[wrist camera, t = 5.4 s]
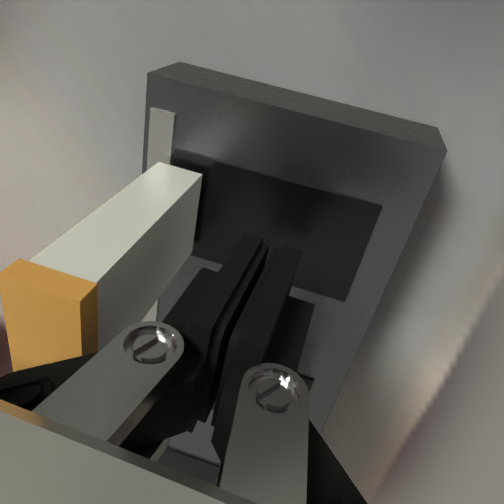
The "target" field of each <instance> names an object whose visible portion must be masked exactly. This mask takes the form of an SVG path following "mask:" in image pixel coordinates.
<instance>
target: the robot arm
mask: <svg viewBox="0 0 504 504" xmlns="http://www.w3.org/2000/svg"><path fill="white" fill-rule="evenodd" d="M263 241H264V238H261V237H258V236H255V235H252V234H249V233H244V234H243V235H242V237H241V238H240V240H239V241H238V243H237V244H236V246H235V247H234V249H233V250H232V252H231V253H230V255H229V256H228V258H227V259H226V261H225V262H224V264H223V265H222V267H221V268H220V270H219V271H218V272H216V271H213V270H210V269H207V268H204V267H203V268H201V269H200V271H199V272H198V273H197V274H196V276H195V277H194V279H193V280H192V281H191V283H190V284H189V285H188V287H187V288H186V290H185V291H184V292H183V294H182V295H181V296H180V298H179V299H178V301H177V302H176V303H175V305H174V306H173V307H172V309H171V310H170V311H169V313H168V314H167V316H166V317H165V318H164V320H163V321H162V322H156V321H145V322H139V323H136V324H133V325H130V326H129V327H127V328H126V329H124V330H123V331H122V332H121V333H120V334H118V335H117V336H116V337H115V338H114V339H113V340H112V341H110V342H109V343H108V344H107V345H106V346H105V347H104V348H103V349H101V350H100V351H99V352H97V353H92V354H88V355H83V356H79V357H75V358H70V359H66V360H62V361H57V362H53V363H49V364H44V365H40V366H36V367H31V368H27V369H23V370H18V371H15V372H12V373H9V374H6V375H4V376H2V377H0V504H367V503H366V501H365V500H364V498H363V497H362V495H361V494H360V492H359V491H358V489H357V488H356V487H355V485H354V484H353V482H352V481H351V479H350V478H349V476H348V475H347V473H346V472H345V470H344V469H343V468H342V466H341V465H340V463H339V462H338V460H337V459H336V457H335V456H334V454H333V453H332V451H331V450H330V449H329V447H328V446H327V444H326V443H325V441H324V440H323V438H322V437H321V435H320V434H319V433H318V431H317V430H316V428H315V427H314V425H313V424H312V422H311V421H310V419H309V392H308V388H307V386H306V384H305V382H304V380H303V379H302V378H301V377H300V376H299V375H298V374H297V369H298V365H299V362H300V358H301V354H302V351H303V347H304V343H305V340H306V336H307V332H308V329H309V325H310V321H311V318H312V314H313V310H314V306H315V304H312V303H309V302H306V301H303V300H300V299H297V298H294V297H291V296H289V295H290V291H291V288H292V285H293V281H294V278H295V275H296V271H297V268H298V265H299V261H300V258H301V255H302V251H303V250H299V249H296V248H293V247H290V246H287V245H283V246H282V249H279V248H276V247H274V249H273V251H272V253H271V255H270V257H269V259H268V261H267V263H266V259H267V255H268V251H269V245H266V244H263ZM265 263H266V265H265ZM215 401H216V403H215ZM214 403H215V407H214V412H213V416H212V421H211V426H214V431H213V435H212V439H211V443H212V445H213V447H214V449H215V451H216V453H217V455H218V458H219V460H220V466H219V470H218V475H217V480H216V485H215V486H214V485H212V484H209V483H207V482H204V481H202V480H199V479H197V478H195V477H192V476H190V475H187V474H185V473H182V472H180V471H177V470H175V469H172V468H170V467H167V466H165V465H163V464H160V463H158V462H157V461H158V459H159V458H160V457H161V455H162V454H163V452H164V451H165V450H166V448H167V446H168V444H169V442H170V440H171V437H173V436H175V435H178V434H181V433H184V432H186V431H188V432H190V433H192V432H193V430H194V428H195V426H196V424H197V421H201V422H203V423H205V422H206V421H207V418H208V416H209V414H210V412H211V410H212V408H213V405H214Z"/></svg>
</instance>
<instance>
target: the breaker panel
mask: <svg viewBox="0 0 504 504" xmlns="http://www.w3.org/2000/svg"><path fill="white" fill-rule="evenodd" d="M446 153H447V149H446V147H445V144H444V142H443V140H442V137H441V135H440V132H439V130H438V128H437V127H433V126H429V125H425V124H421V123H417V122H413V121H409V120H405V119H401V118H397V117H393V116H389V115H386V114H382V113H378V112H374V111H370V110H366V109H362V108H358V107H354V106H350V105H346V104H342V103H339V102H335V101H331V100H327V99H323V98H319V97H315V96H311V95H307V94H303V93H299V92H295V91H291V90H288V89H284V88H280V87H276V86H272V85H268V84H264V83H260V82H256V81H252V80H248V79H244V78H241V77H237V76H233V75H229V74H225V73H221V72H217V71H213V70H209V69H205V68H201V67H197V66H193V65H190V64H186V63H182V62H178V63H175V64H172V65H169V66H166V67H163V68H160V69H157V70H154V71H151V72H149V73H147V92H146V111H145V129H144V148H143V167H142V174H143V173H145V172H146V171H147V170H149V169H150V168H151V167H152V166H154V165H155V164H156V163H158V162H161V163H165V164H168V165H172V166H175V167H179V168H182V169H186V170H189V171H193V172H196V173H200V174H203V175H202V182H201V190H200V197H199V204H198V212H197V219H196V227H195V234H194V242H193V249H192V253H191V254H190V256H189V257H188V258H187V260H186V261H185V262H184V264H183V265H182V267H181V268H180V269H179V271H178V272H177V273H176V275H175V276H174V278H173V279H172V280H171V282H170V283H169V284H168V286H167V287H166V289H165V290H164V291H163V293H162V294H161V295H160V297H159V298H158V300H157V301H156V302H155V304H154V305H153V306H152V308H151V309H150V311H149V312H148V313H147V315H146V316H145V317H144V319H143V320H142V322H145V321H156V322H162V321H163V320H164V318H165V317H166V316H167V314H168V313H169V311H170V310H171V309H172V307H173V306H174V305H175V303H176V302H177V301H178V299H179V298H180V296H181V295H182V294H183V292H184V291H185V290H186V288H187V287H188V285H189V284H190V283H191V281H192V280H193V279H194V277H195V276H196V274H197V273H198V272H199V271H200V269H201V268H203V267H204V268H207V269H210V270H213V271H216V272H218V271H219V270H220V268H221V267H222V265H223V264H224V262H225V261H226V259H227V258H228V256H229V255H230V253H231V252H232V250H233V249H234V247H235V246H236V244H237V243H238V241H239V240H240V238H241V237H242V235H243V234H244V233H249V234H252V235H255V236H258V237H261V238H264V241H263V244H266V245H269V251H268V255H267V259H266V263H267V261H268V259H269V257H270V255H271V253H272V251H273V249H274V247H276V248H279V249H282V246H283V245H287V246H290V247H293V248H296V249H299V250H303V251H302V255H301V258H300V261H299V265H298V268H297V271H296V275H295V278H294V281H293V285H292V288H291V291H290V295H289V296H291V297H294V298H297V299H300V300H303V301H306V302H309V303H312V304H315V306H314V310H313V314H312V318H311V321H310V325H309V329H308V332H307V336H306V340H305V343H304V347H303V351H302V354H301V358H300V362H299V365H298V369H297V374H298V375H299V376H300V377H301V378H302V379H303V380H304V382H305V384H306V386H307V388H308V392H309V419H310V421H311V422H312V424H313V425H314V427H315V428H316V430H317V431H318V433H319V434H320V433H321V431H322V429H323V426H324V424H325V422H326V420H327V418H328V415H329V413H330V411H331V409H332V406H333V404H334V402H335V400H336V398H337V395H338V393H339V391H340V389H341V386H342V384H343V382H344V380H345V377H346V375H347V373H348V371H349V369H350V366H351V364H352V362H353V360H354V357H355V355H356V353H357V351H358V349H359V346H360V344H361V342H362V340H363V337H364V335H365V333H366V331H367V328H368V326H369V324H370V322H371V320H372V317H373V315H374V313H375V311H376V308H377V306H378V304H379V302H380V300H381V297H382V295H383V293H384V291H385V288H386V286H387V284H388V282H389V279H390V277H391V275H392V273H393V271H394V268H395V266H396V264H397V262H398V259H399V257H400V255H401V253H402V251H403V248H404V246H405V244H406V242H407V239H408V237H409V235H410V233H411V230H412V228H413V226H414V224H415V222H416V219H417V217H418V215H419V213H420V210H421V208H422V206H423V204H424V202H425V199H426V197H427V195H428V193H429V190H430V188H431V186H432V184H433V181H434V179H435V177H436V175H437V173H438V170H439V168H440V166H441V164H442V161H443V159H444V157H445V155H446ZM266 263H265V265H266ZM215 403H216V401H215ZM215 403H214V405H213V408H212V410H211V412H210V414H209V416H208V418H207V421H206V422H205V423H203V422H201V421H197V424H196V426H195V428H194V430H193V432H192V433H190V432H188V431H186V432H184V433H181V434H178V435H175V436H173V437H171V440H170V442H169V444H168V446H167V448H166V450H165V451H164V452H163V454H162V455H161V457H160V458H159V459H158V461H157V462H158V463H160V464H163V465H165V466H167V467H170V468H172V469H175V470H177V471H180V472H182V473H185V474H187V475H190V476H192V477H195V478H197V479H199V480H202V481H204V482H207V483H209V484H212V485H214V486H215V485H216V480H217V475H218V470H219V466H220V460H219V458H218V455H217V453H216V451H215V449H214V447H213V445H212V443H211V439H212V435H213V431H214V426H211V421H212V416H213V412H214V407H215Z"/></svg>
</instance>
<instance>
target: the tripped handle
mask: <svg viewBox="0 0 504 504" xmlns="http://www.w3.org/2000/svg"><path fill="white" fill-rule="evenodd" d="M202 175H203V174H200V173H196V172H193V171H189V170H186V169H182V168H179V167H175V166H172V165H168V164H165V163H161V162H158V163H156V164H155V165H154V166H152V167H151V168H150V169H149V170H147V171H146V172H145V173H143V174H142V175H141V176H139V177H138V178H137V179H135V180H134V181H133V182H131V183H130V184H129V185H128V186H126V187H125V188H124V189H122V190H121V191H120V192H118V193H117V194H116V195H114V196H113V197H112V198H110V199H109V200H108V201H107V202H105V203H104V204H103V205H101V206H100V207H99V208H97V209H96V210H95V211H93V212H92V213H91V214H89V215H88V216H87V217H86V218H84V219H83V220H82V221H80V222H79V223H78V224H76V225H75V226H74V227H72V228H71V229H70V230H68V231H67V232H66V233H65V234H63V235H62V236H61V237H59V238H58V239H57V240H55V241H54V242H53V243H51V244H50V245H49V246H47V247H46V248H45V249H44V250H42V251H41V252H40V253H38V254H37V255H36V256H34V257H33V258H32V259H30V260H29V261H26V260H23V259H18V260H17V261H15V262H14V263H13V264H11V265H10V266H9V267H7V268H6V269H5V270H3V271H2V272H0V293H1V299H2V305H3V311H4V318H5V324H6V330H7V336H8V342H9V348H10V354H11V361H12V367H13V372H15V371H18V370H23V369H27V368H31V367H36V366H40V365H44V364H49V363H53V362H57V361H62V360H66V359H70V358H75V357H79V356H83V355H88V354H92V353H97V352H99V351H100V350H101V349H103V348H104V347H105V346H106V345H107V344H108V343H109V342H110V341H112V340H113V339H114V338H115V337H116V336H117V335H118V334H120V333H121V332H122V331H123V330H124V329H126V328H127V327H129V326H130V325H133V324H136V323H139V322H142V320H143V319H144V317H145V316H146V315H147V313H148V312H149V311H150V309H151V308H152V306H153V305H154V304H155V302H156V301H157V300H158V298H159V297H160V295H161V294H162V293H163V291H164V290H165V289H166V287H167V286H168V284H169V283H170V282H171V280H172V279H173V278H174V276H175V275H176V273H177V272H178V271H179V269H180V268H181V267H182V265H183V264H184V262H185V261H186V260H187V258H188V257H189V256H190V254H191V253H192V249H193V242H194V234H195V227H196V219H197V212H198V204H199V197H200V190H201V182H202Z"/></svg>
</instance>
